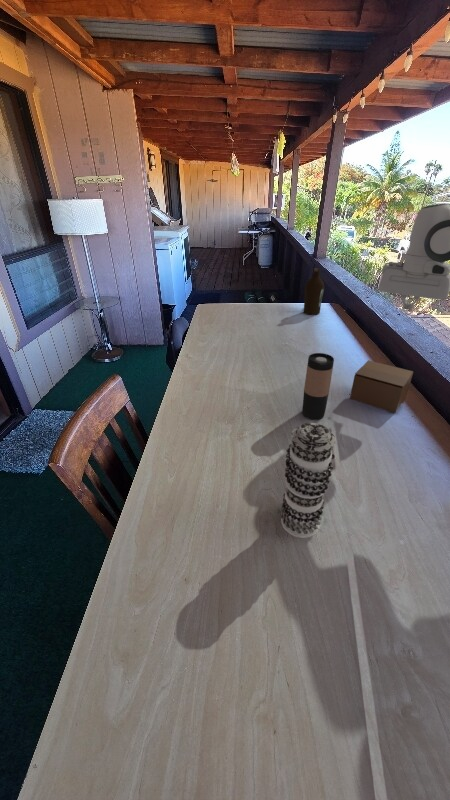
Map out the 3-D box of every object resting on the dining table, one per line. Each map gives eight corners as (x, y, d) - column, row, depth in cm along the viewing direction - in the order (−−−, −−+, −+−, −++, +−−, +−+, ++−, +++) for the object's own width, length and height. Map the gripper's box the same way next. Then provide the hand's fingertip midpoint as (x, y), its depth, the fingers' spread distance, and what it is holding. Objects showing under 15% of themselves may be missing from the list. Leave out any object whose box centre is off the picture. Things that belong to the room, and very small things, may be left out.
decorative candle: (284, 501, 83) (294, 412, 70) (324, 512, 80) (342, 422, 67) (274, 531, 75) (283, 438, 62) (317, 545, 72) (336, 450, 59)
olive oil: (301, 314, 205) (306, 270, 193) (303, 309, 214) (307, 266, 201) (320, 316, 203) (326, 271, 190) (320, 310, 212) (326, 267, 199)
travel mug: (311, 405, 119) (318, 350, 109) (329, 414, 114) (339, 358, 104) (296, 413, 115) (302, 357, 105) (315, 423, 110) (324, 365, 100)
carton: (348, 402, 121) (354, 373, 115) (361, 387, 130) (368, 360, 124) (394, 416, 113) (403, 386, 107) (404, 400, 122) (413, 371, 116)
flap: (361, 367, 120) (361, 366, 119) (368, 361, 124) (368, 360, 124) (408, 379, 112) (408, 378, 112) (413, 372, 116) (413, 371, 116)
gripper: (381, 262, 110) (372, 306, 117) (455, 269, 100) (440, 317, 107) (386, 259, 114) (377, 301, 122) (458, 266, 104) (443, 312, 111)
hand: (407, 309), depth 114 cm, fingers closed
